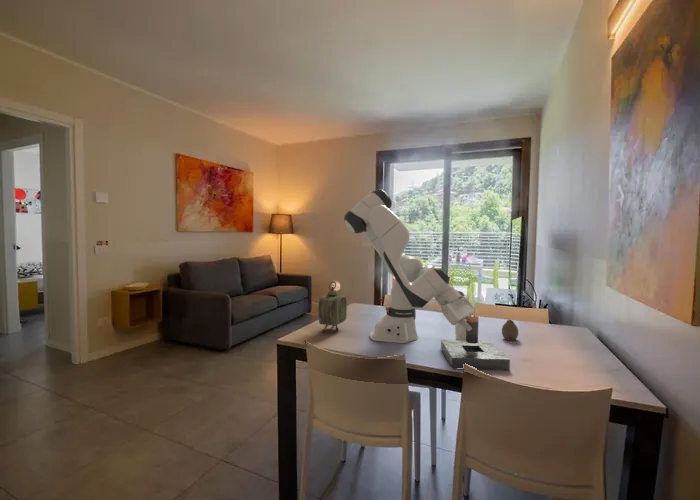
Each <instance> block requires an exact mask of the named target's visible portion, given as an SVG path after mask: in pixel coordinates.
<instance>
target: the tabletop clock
mask: <svg viewBox="0 0 700 500" xmlns="http://www.w3.org/2000/svg"><path fill="white" fill-rule="evenodd" d="M332 284H334V286H331V285H332ZM336 287H337V282H336V281H334V280H333V281H330V282H329V285H328V289H329V291H328V292H327V294H325V295H324V294H323V295H322V296H320V298H319V300H318V310H317V311H318V323H319V325H324V328H322V330H321V332H322V333H323V332H324V333H326V329H327V328H328V327H329V326H331V327H333V326H335V331H337V332H339V330H340V329H339V327H338V325H340V324H342V323H344V322H345V321H346V319H347V316H348V315H347V310H348V308H347V305H348V304H347V302H348V301H347V297H345V295H343V294H338V291H337V290H335V289H336Z"/></svg>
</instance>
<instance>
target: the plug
mask: <svg viewBox="0 0 700 500" xmlns="http://www.w3.org/2000/svg"><path fill="white" fill-rule="evenodd" d="M466 322H467V323H468V324H469V325H471V326H472V327H473V329H472V330H470V331H468V330H467V329H466V342H468V343H472V344H476V343H478V341H479V315H476V312H475V313H474V314H472V315H471V313H469V315H468V316H467V317H466Z"/></svg>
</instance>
